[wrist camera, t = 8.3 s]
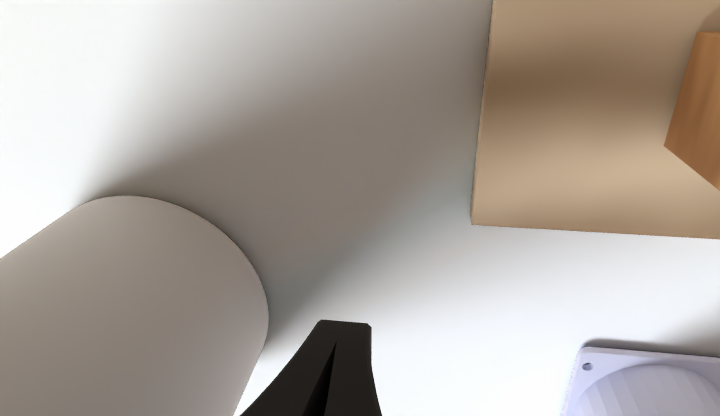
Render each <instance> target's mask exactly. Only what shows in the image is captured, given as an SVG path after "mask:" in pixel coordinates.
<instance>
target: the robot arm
mask: <svg viewBox="0 0 720 416" xmlns="http://www.w3.org/2000/svg"><path fill="white" fill-rule="evenodd" d="M585 363H590V364H588V365H583V364H585ZM240 416H382V414H381V410H380V406H379V402H378V398H377V394H376V389H375V383H374V378H373V373H372V366H371V327H370V326H369V325H368V324H367V323H356V322H344V321H332V320H320V321H319V322H318V323H317V324H316V325H315V327H314V328H313V330H312V331H311V333H310V334H309V336H308V337H307V339H306V340H305V341H304V343H303V344H302V345H301V347H300V348H299V349H298V351H297V352H296V353H295V355H294V356H293V357H292V358H291V360H290V361H289V362H288V363H287V365H286V366H285V367H284V368H283V370H282V371H281V372H280V373H279V374H278V376H277V377H276V378H275V379H274V380H273V381H272V383H271V384H270V385H269V386H268V387H267V388H266V389H265V390H264V391H263V392H262V393H261V395H260V396H259V397H258V398H257V399H256V400H255V401H254V402H253V403H252V404H251V405H250V406H249V407H248V408H247V409H246V410H245V411H244V412H243V413H242V414H241V415H240ZM561 416H720V358H716V357H704V356H693V355H681V354H670V353H658V352H646V351H635V350H623V349H611V348H600V347H584V348H582V349H580V350H579V351H578V353H577V357H576V361H575V365H574V368H573V372H572V376H571V380H570V384H569V388H568V391H567V395H566V399H565V403H564V407H563V411H562V414H561Z"/></svg>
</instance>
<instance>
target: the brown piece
mask: <svg viewBox="0 0 720 416" xmlns="http://www.w3.org/2000/svg"><path fill="white" fill-rule="evenodd" d="M664 147H666V148H667V149H668V150H669V151H671V152H672V153H673V154H674V155H676V156H677V157H678V158H679V159H681V160H682V161H683V162H684V163H685V164H687V165H688V166H689V167H690V168H692V169H693V170H694V171H695V172H697V173H698V174H699V175H700V176H702V177H703V178H704V179H705V180H707V181H708V182H709V183H710V184H712V185H713V186H714V187H715V188H717V189H718V190H719V191H720V31H697V33H696V36H695V40H694V43H693V46H692V50H691V53H690V57H689V60H688V63H687V67H686V70H685V74H684V77H683V81H682V84H681V87H680V91H679V94H678V98H677V101H676V105H675V108H674V111H673V115H672V118H671V122H670V125H669V128H668V132H667V135H666V139H665V142H664Z"/></svg>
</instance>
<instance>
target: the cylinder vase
mask: <svg viewBox="0 0 720 416" xmlns="http://www.w3.org/2000/svg"><path fill="white" fill-rule="evenodd" d="M268 325H269V313H268V304H267V299H266V295H265V292H264V289H263V286H262V283H261V281H260V279H259V277H258V275H257V273H256V271H255V269H254V268H253V266H252V264H251V263H250V261H249V260H248V259H247V257H246V256H245V255H244V253H243V252H242V251H241V250H240V249H239V247H238V246H237V245H236V244H235V243H234V242H233V241H232V240H231V239H230V238H229V237H228V236H227V235H225V234H224V233H223V232H222V231H221V230H219V229H218V228H217V227H215V226H214V225H213V224H211V223H210V222H208V221H207V220H205V219H204V218H202V217H200V216H198V215H197V214H195V213H193V212H191V211H189V210H187V209H184V208H182V207H180V206H177V205H174V204H172V203H168V202H165V201H162V200H158V199H153V198H148V197H140V196H111V197H104V198H100V199H96V200H92V201H89V202H86V203H84V204H82V205H79V206H77V207H75V208H74V209H72V210H70V211H69V212H67V213H66V214H64V215H63V216H62V217H60V218H59V219H57V220H56V221H54V222H53V223H51V224H50V225H48V226H47V227H46V228H44V229H43V230H41V231H40V232H38V233H37V234H35V235H34V236H32V237H31V238H30V239H28V240H27V241H25V242H24V243H22V244H21V245H19V246H18V247H16V248H15V249H14V250H12V251H11V252H9V253H8V254H6V255H5V256H3V257H2V258H1V259H0V416H233V415H234V412H235V410H236V408H237V405H238V403H239V401H240V399H241V396H242V394H243V392H244V390H245V387H246V385H247V383H248V381H249V378H250V376H251V374H252V371H253V369H254V367H255V365H256V362H257V360H258V358H259V356H260V353H261V351H262V349H263V346H264V344H265V341H266V337H267V332H268Z"/></svg>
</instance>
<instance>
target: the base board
mask: <svg viewBox="0 0 720 416" xmlns="http://www.w3.org/2000/svg"><path fill="white" fill-rule="evenodd" d="M697 31H720V0H493V4H492V13H491V22H490V31H489V41H488V50H487V59H486V68H485V78H484V87H483V96H482V105H481V114H480V124H479V133H478V142H477V151H476V161H475V170H474V179H473V188H472V197H471V207H470V216H471V223H472V225H483V226H500V227H517V228H534V229H552V230H569V231H586V232H603V233H620V234H638V235H655V236H672V237H689V238H707V239H720V191H719V190H718V189H717V188H715V187H714V186H713V185H712V184H710V183H709V182H708V181H707V180H705V179H704V178H703V177H702V176H700V175H699V174H698V173H697V172H695V171H694V170H693V169H692V168H690V167H689V166H688V165H687V164H685V163H684V162H683V161H682V160H681V159H679V158H678V157H677V156H676V155H674V154H673V153H672V152H671V151H669V150H668V149H667V148H666V147H664V142H665V139H666V135H667V132H668V128H669V125H670V122H671V118H672V115H673V111H674V108H675V105H676V101H677V98H678V94H679V91H680V87H681V84H682V81H683V77H684V74H685V70H686V67H687V63H688V60H689V57H690V53H691V50H692V46H693V43H694V40H695V36H696V33H697Z"/></svg>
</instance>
